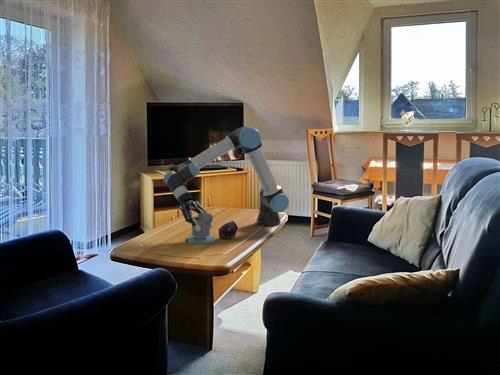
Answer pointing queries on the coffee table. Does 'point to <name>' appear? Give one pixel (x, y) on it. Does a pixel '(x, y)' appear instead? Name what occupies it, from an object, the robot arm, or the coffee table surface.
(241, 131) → the robot arm
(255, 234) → the coffee table surface
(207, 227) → the elbow
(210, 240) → the teal lid with knob
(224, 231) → the rock
